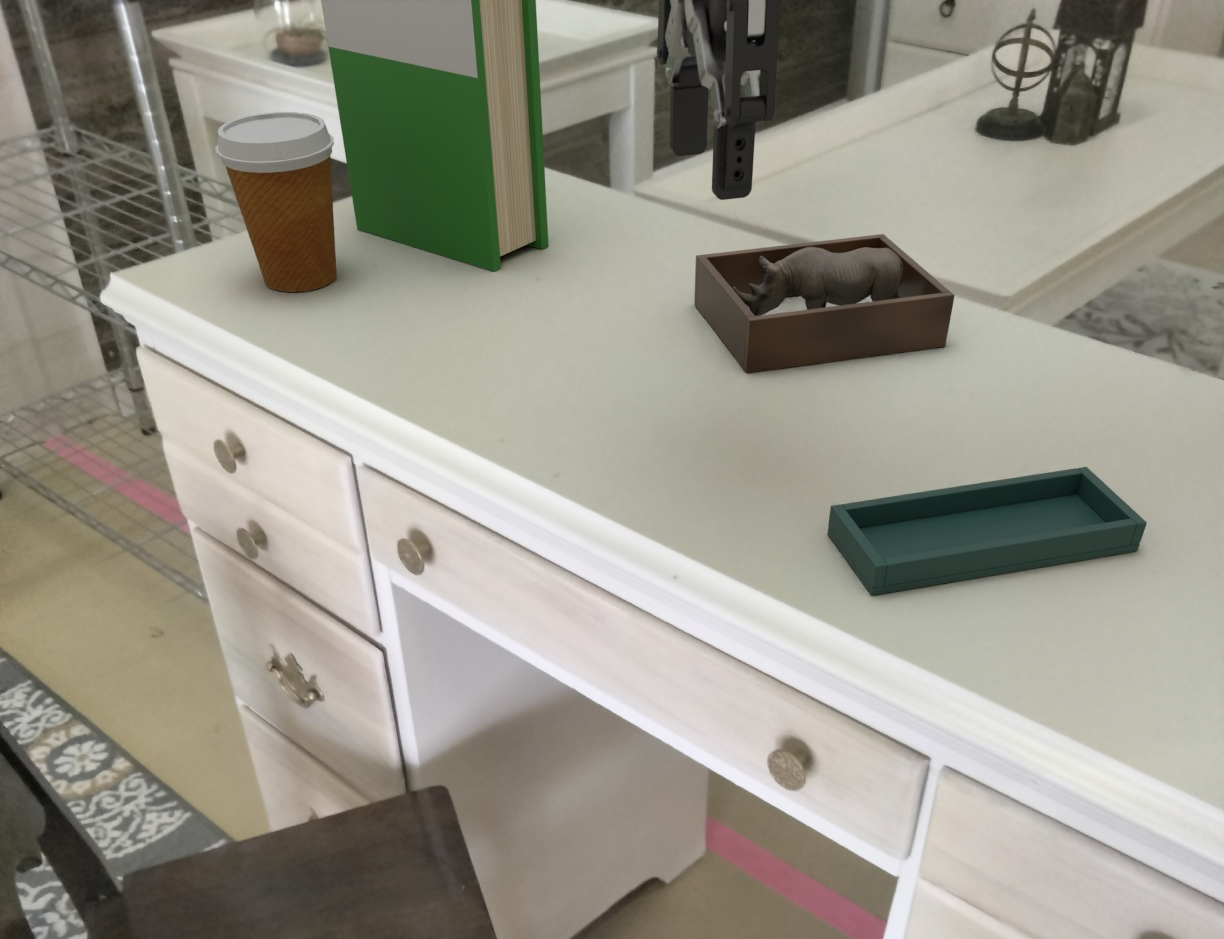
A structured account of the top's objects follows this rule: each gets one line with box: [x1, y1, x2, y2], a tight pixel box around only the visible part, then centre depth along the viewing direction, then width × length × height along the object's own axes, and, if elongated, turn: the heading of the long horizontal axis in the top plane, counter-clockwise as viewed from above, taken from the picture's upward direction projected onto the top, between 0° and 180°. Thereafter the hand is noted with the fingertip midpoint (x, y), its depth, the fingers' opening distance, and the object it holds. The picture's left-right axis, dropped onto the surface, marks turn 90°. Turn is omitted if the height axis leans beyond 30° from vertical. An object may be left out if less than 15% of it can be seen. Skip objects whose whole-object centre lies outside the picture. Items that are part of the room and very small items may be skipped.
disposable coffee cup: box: [215, 111, 338, 293], centre depth 102 cm, size 10×10×12 cm
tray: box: [827, 466, 1148, 596], centre depth 74 cm, size 17×7×2 cm, turn 104°
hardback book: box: [320, 0, 549, 272], centre depth 104 cm, size 18×7×24 cm, turn 51°
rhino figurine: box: [733, 247, 903, 316], centre depth 95 cm, size 4×14×6 cm, turn 88°
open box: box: [693, 233, 955, 374], centre depth 96 cm, size 16×13×4 cm
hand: (708, 174), depth 73 cm, fingers open, 8 cm apart
